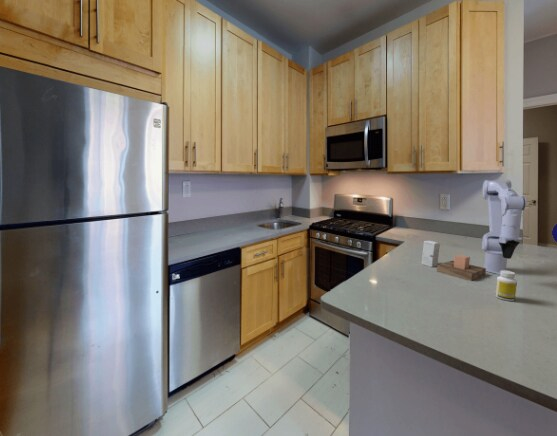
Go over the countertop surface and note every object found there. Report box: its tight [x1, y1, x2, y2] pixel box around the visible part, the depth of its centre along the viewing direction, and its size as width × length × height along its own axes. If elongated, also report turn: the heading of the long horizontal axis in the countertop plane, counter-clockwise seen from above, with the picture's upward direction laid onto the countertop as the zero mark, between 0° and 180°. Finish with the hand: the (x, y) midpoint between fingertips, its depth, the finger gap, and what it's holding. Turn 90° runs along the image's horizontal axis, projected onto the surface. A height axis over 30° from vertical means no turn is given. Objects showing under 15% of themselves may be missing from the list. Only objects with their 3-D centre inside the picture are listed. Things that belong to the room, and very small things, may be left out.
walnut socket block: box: [436, 260, 487, 282], centre depth 119 cm, size 14×14×3 cm
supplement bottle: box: [494, 269, 518, 302], centre depth 92 cm, size 5×5×10 cm
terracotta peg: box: [453, 254, 471, 270], centre depth 118 cm, size 4×4×8 cm
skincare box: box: [421, 240, 441, 268], centre depth 130 cm, size 6×4×12 cm
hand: (507, 258), depth 106 cm, fingers closed
